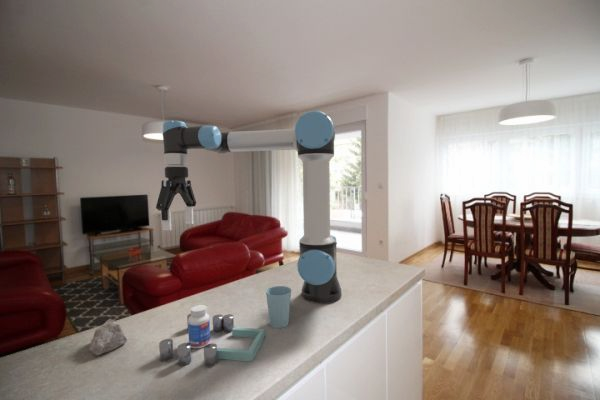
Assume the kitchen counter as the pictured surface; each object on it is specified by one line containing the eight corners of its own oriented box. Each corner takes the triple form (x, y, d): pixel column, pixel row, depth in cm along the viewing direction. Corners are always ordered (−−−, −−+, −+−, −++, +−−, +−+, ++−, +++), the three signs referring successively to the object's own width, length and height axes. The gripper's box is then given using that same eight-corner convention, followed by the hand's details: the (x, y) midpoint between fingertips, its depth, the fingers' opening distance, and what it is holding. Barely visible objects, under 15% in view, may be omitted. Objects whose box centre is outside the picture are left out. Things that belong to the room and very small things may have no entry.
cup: (291, 316, 90) (290, 285, 89) (292, 329, 82) (291, 294, 81) (267, 318, 89) (266, 286, 88) (266, 331, 81) (265, 296, 81)
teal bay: (264, 336, 78) (264, 329, 78) (251, 361, 67) (251, 353, 67) (233, 333, 80) (233, 327, 80) (216, 358, 69) (215, 350, 69)
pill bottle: (203, 350, 72) (201, 313, 72) (184, 348, 73) (183, 312, 73) (214, 338, 78) (212, 304, 77) (196, 336, 79) (195, 303, 78)
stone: (91, 360, 69) (89, 337, 69) (88, 344, 77) (87, 323, 76) (128, 347, 74) (127, 326, 74) (123, 333, 82) (121, 313, 81)
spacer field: (241, 328, 83) (241, 315, 83) (212, 369, 65) (212, 352, 65) (192, 324, 86) (191, 311, 85) (150, 363, 67) (149, 347, 67)
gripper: (186, 168, 111) (188, 221, 112) (141, 164, 86) (144, 232, 88) (204, 168, 110) (206, 221, 111) (163, 164, 85) (166, 233, 86)
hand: (179, 226), depth 99 cm, fingers open, 13 cm apart
